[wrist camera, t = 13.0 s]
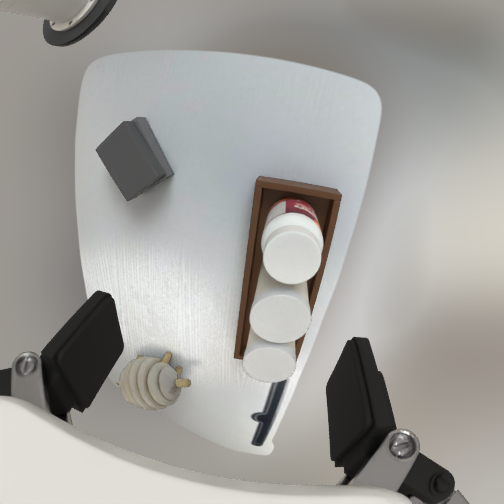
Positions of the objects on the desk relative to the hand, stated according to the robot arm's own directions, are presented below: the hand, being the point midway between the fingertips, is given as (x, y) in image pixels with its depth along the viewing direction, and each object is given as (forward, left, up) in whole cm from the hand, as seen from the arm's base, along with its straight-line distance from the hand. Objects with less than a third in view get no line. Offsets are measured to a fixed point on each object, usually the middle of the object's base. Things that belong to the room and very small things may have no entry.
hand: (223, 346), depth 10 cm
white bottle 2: (+17, 0, -25) cm, 31 cm away
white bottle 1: (+10, +1, -25) cm, 27 cm away
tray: (+12, +1, -26) cm, 29 cm away
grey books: (-7, -16, -26) cm, 32 cm away
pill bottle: (+3, +3, -26) cm, 26 cm away
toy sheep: (+31, -23, -26) cm, 47 cm away
